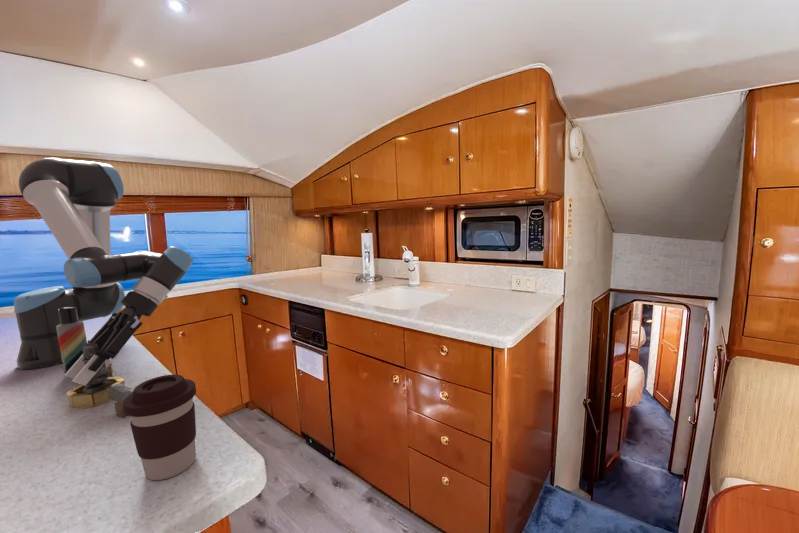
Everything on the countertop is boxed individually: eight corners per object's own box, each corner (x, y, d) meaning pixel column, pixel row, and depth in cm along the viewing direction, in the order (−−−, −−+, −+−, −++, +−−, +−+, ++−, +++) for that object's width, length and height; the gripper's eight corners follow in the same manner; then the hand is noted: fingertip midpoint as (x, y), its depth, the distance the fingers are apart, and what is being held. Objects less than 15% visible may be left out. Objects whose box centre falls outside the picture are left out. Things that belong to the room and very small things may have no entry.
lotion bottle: (60, 377, 99) (48, 308, 96) (85, 368, 104) (73, 304, 101) (72, 379, 96) (59, 310, 94) (96, 371, 102) (84, 304, 99)
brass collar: (65, 401, 84) (62, 389, 83) (115, 384, 92) (114, 373, 92) (77, 412, 78) (75, 400, 78) (130, 393, 86) (128, 382, 86)
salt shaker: (94, 393, 81) (85, 344, 80) (74, 392, 82) (65, 344, 81) (118, 382, 87) (111, 336, 85) (99, 381, 88) (91, 335, 87)
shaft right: (107, 410, 79) (103, 388, 78) (126, 402, 82) (122, 382, 81) (123, 419, 75) (120, 396, 74) (142, 410, 78) (139, 389, 77)
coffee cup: (217, 452, 62) (207, 373, 60) (164, 494, 53) (150, 401, 51) (177, 443, 65) (166, 367, 63) (120, 481, 56) (105, 393, 54)
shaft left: (111, 381, 94) (108, 363, 93) (93, 385, 92) (90, 366, 91) (113, 371, 101) (110, 354, 100) (97, 375, 99) (94, 358, 98)
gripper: (173, 308, 90) (104, 395, 79) (143, 301, 100) (79, 378, 89) (146, 292, 85) (69, 383, 74) (118, 287, 95) (46, 366, 84)
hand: (74, 380), depth 81 cm, fingers closed on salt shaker, 5 cm apart
